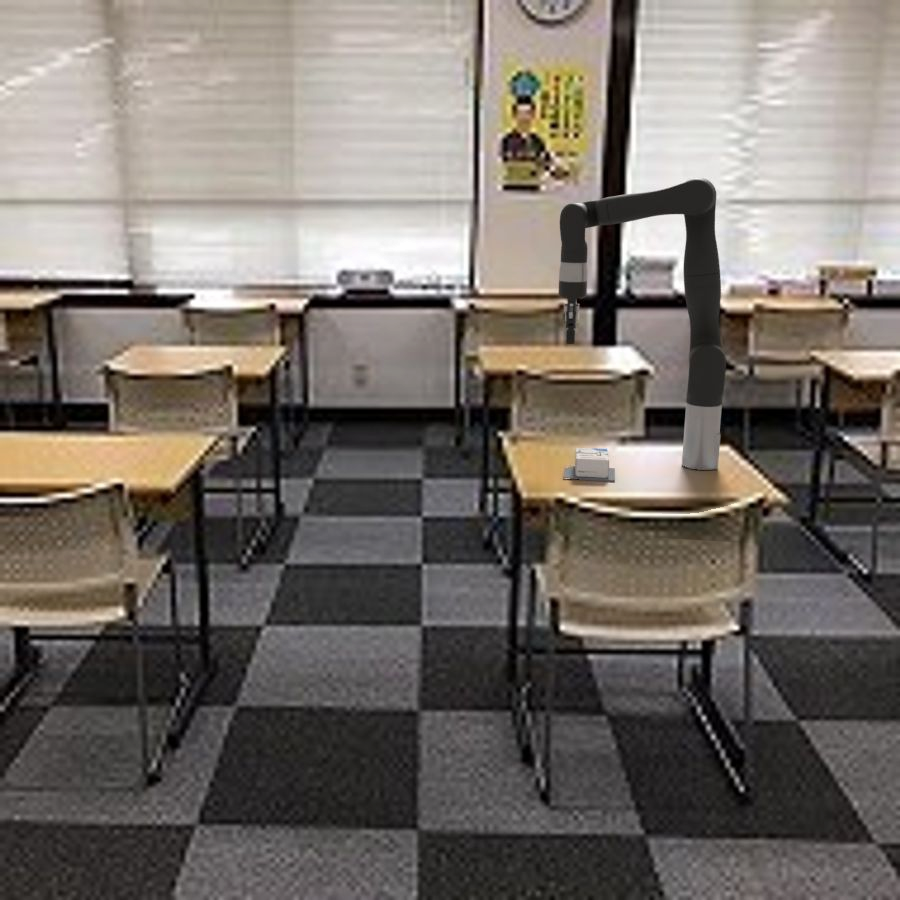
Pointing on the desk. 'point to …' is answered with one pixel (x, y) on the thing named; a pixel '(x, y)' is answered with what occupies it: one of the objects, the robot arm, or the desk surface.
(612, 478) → the mat
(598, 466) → the ink box
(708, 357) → the robot arm
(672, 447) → the desk surface
